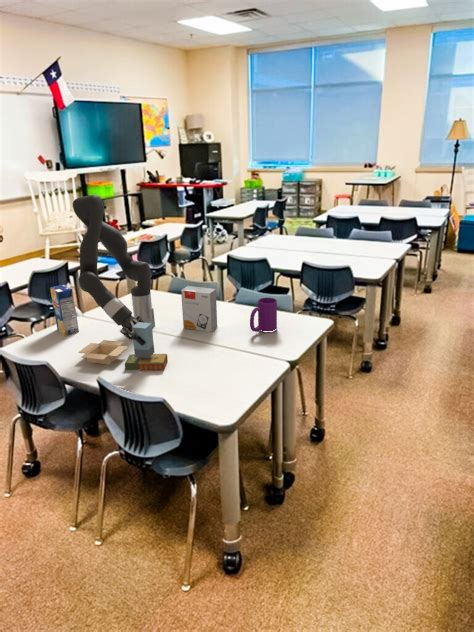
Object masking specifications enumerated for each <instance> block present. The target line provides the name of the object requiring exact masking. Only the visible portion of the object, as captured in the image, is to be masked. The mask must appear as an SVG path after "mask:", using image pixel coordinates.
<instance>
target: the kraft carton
mask: <svg viewBox="0 0 474 632" xmlns="http://www.w3.org/2000/svg"><path fill="white" fill-rule="evenodd" d="M124 343H125V341H118V340H108V339H107V340H106V339H103V340H102V341H100V342H99V343H97V342H96V343H95V342H90V343H88V344H87V345H86V346H85V347H83V348H82V349H80V350H78V354H83V355H82V356H81V359H87V363H90V364H99V365H100V364H101V365H111V364H112V363H113V362H114V361H116V360H117V359H118V358H120V356H122V354H123V352H124V351H126V350H127V349H128V348H129V346H128V345H127V346H126V345H124Z"/></svg>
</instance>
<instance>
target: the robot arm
mask: <svg viewBox="0 0 474 632" xmlns="http://www.w3.org/2000/svg"><path fill="white" fill-rule="evenodd" d="M72 209H73V212H74V214H75V215H76V217H77V218H78V219H79V220H80V221H81V222H82V223H83V224H84V225H85V226H86V227H87V230H86V233H85V234H84V236H83V238H82V240H81V242H80V246H79V276H78V279H77V280H78V285H79V289H80V290H81V291H83V292H85V293H88V294H89V295H90V296H91V297H92V298H93V300H94V301H95V303H96V304H97V305H98V306H99V307H100V308H101V309H102V310H103V311H104V312H105V314H106V315H107V316H108V317H109V318H110V319H111V320H112V321H113V322H114V323H116V325H117V326H121V327H122V328H121V329H119V332H120V333H121V334H122V335H123V336H125V337H126V338H127V339H129V341H133V339H134V340H136V341H137V342H138V343H139V344H140V345H142V346H143V345H144V344H145V343H146V342H145V341H144V340H143V339H142V338H141V337H140V336H139V335H138V334H137V333H136V330H135V329H134V328H133V331H132V327H133V326H134V325H135V324H136V323H139V322H142V323H152V328H154V327H156V322H155V321H156V318H155V312H154V309H155V308H154V307H153V303H152V295H151V288H152V272H151V266H150V264H149V263H147V262H146V261H140V260H139V261H138V260H134V259H133V258H132V257H131V255H130V254H129V253H128V242H127V241H126V239H125V237H124V236H123V235H122V233H121V232H120V231H119V230H118V229H117V228H116V227H114V226H112V225H110V224H108V223H106V222H105V221H103V219H104V213H105V205H104V202H103V200H102V198H101V196H99V195H98V194H91V195H85V196H80V197H77V198H75V199H74V200H73V202H72ZM99 242H100V243H101V244H102V245H103V246H104V248H105V249H106V251H107V252H108V253H109V254H110V256H112V257H113V258H114V260H115V261H116V262H117V264H118V265H119V267H120V269H121V271H122V272H123V273H124V275H125V276H126V277H127V279H129V280H132V281H137V286H136V285H135V286H134V287H131V289H130V292H131V293H130V294H131V302H132V310H130V309H129V308H128V307H127V306H126V305H125V303H123V301H122V300H120V299H119V298H118V297H117V296H116V295H114V294H113V293H112V292H111V291H110V290H109V289H108V288H107V287H106V286H105V285H104V283H103V282H102V281H101V279H100V278H99V277H98V261H99V260H98V258H99ZM133 333H134V334H135V335H134V334H133Z"/></svg>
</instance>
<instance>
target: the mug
mask: <svg viewBox="0 0 474 632" xmlns="http://www.w3.org/2000/svg"><path fill="white" fill-rule="evenodd" d="M256 313H257V323H258V324H257V326H255V316H256ZM249 316H250V318H249V327H250V330H251V331H252V332H256V333H257V332H261V331H260V330H262V331H273V330H275V329H277V330H278V321H277V320H278V299H276V298H275V297H274V298H273V297H262V298H259V299H258V301H257V307H255V308H253V310H251V312H250V315H249Z"/></svg>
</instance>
